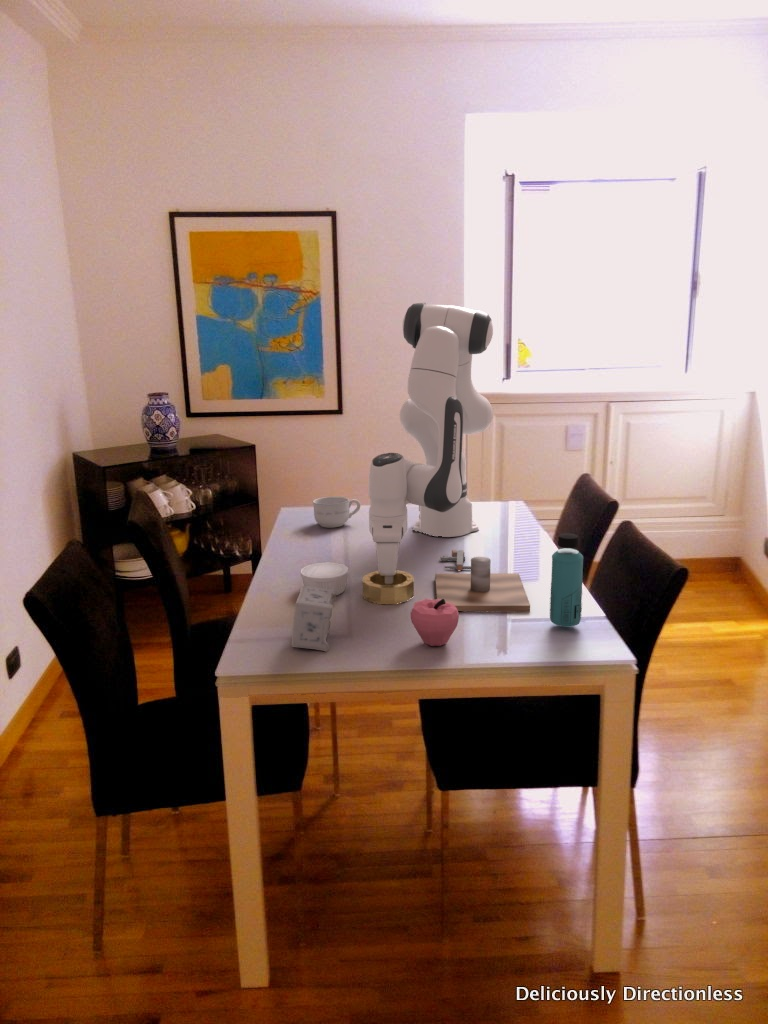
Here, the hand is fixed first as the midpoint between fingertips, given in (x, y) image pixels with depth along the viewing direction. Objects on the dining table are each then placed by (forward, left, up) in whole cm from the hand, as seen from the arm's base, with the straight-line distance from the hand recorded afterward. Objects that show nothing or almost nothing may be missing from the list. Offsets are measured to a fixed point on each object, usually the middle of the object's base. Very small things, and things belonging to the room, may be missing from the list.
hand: (389, 580), depth 190 cm
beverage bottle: (+23, +37, -2) cm, 44 cm away
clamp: (-15, +17, -2) cm, 23 cm away
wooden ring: (+5, 0, -2) cm, 5 cm away
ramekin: (+2, -15, -2) cm, 15 cm away
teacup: (-51, -17, -2) cm, 54 cm away
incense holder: (+30, -14, -2) cm, 33 cm away
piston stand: (+5, +21, -2) cm, 22 cm away
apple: (+31, +10, -2) cm, 33 cm away
